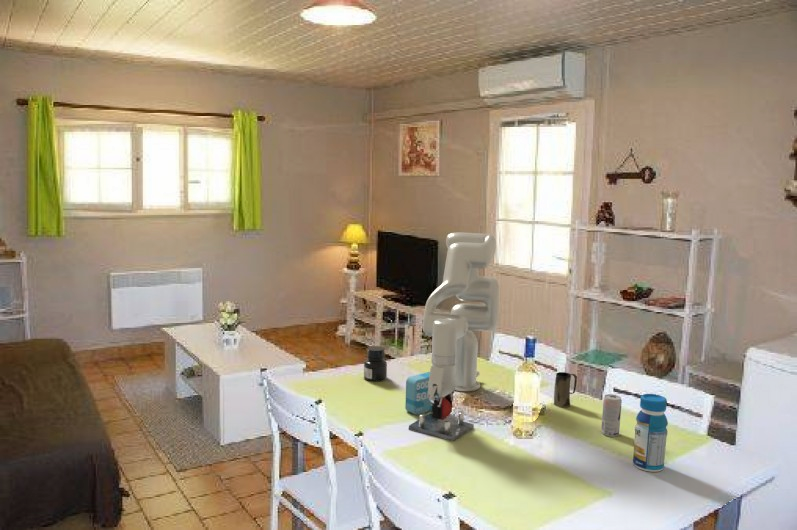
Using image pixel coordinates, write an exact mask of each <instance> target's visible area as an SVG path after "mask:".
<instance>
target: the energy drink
mask: <svg viewBox="0 0 797 530" xmlns="http://www.w3.org/2000/svg"><path fill="white" fill-rule="evenodd" d="M622 401H623V400H622V396H619V395H616V394H612V393H610V394H605V395H604V397H603V401H602V416H601V428H600V431H601V434H602V435H603V436H606V437H610V438H616V437H618V436H619V435H620V428H621V426H620V425H621V415H622V413H621V412H622V403H623V402H622Z"/></svg>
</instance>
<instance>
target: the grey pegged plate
mask: <svg viewBox="0 0 797 530" xmlns="http://www.w3.org/2000/svg"><path fill="white" fill-rule="evenodd" d="M464 415H465V414H464V412H462V411H460V412H458V418H457V419H455V418H450V417H446V418H445V419H444V420H441V419H436V418H433V417H432V412H431V413H430V412H429V413H428V414H426V415H425V414H424V413H421V414H419V419H417V420H416V421H414V422H413V423H411V424H409V425H408V430H410V431H414V432H418V433H421V434H425V435H429V436H432V437H436V438H439V439H444V440H448V441H451V442H455V441H457V440H458V439H460V438H461V437H463V436H464V435H465V434H467V433H468V432H470V431H471V430H472V429H473V428H474V426H475V425H474V424H475V423H474V424H473V423H471V422H465V421H464V420H465V418H464Z"/></svg>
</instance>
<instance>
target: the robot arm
mask: <svg viewBox="0 0 797 530" xmlns="http://www.w3.org/2000/svg"><path fill="white" fill-rule="evenodd" d="M445 238H446V239H445V245H446V247H447V251H446V257H445V258H446V259H445V265H444V271H443V278H442V283H441V284H440V285H439V286H438V287H437V288H435V289H434V291H432V293H431V294H430V295H429V297H428V298H427V300H426V303H425V306H424V311H423V316H422V325H421V326H422V330H423V333H424V334H425V335H426V336H429V337H431V338H432V339H431V340H432V341H431V365H430V371H429V372H430V375H429V384H428V395H429V400H430V401H431V405H432V410H431V414H432V417H433V418H436V419H441V418H442V407H441V402H442V398H443V397H445V399H447V400H448V401H449V402H450V404H451V407H452V408H453V399H454V393H455V391H457V392H475V391H477V390H479V389H480V388H481V383H480V382H479V381H477V377H479V376H480V371H478V351H479V350H478V349H479V348H478V346H479V343H478V339H477V336H476V335H475V333H474V332H473V331H481V332H493V331H495V330H496V329H497V328H498V325H499V314H500V313H499V311H500V310H499V309H500V308H499V307H500V286H499V282H498V280H497V279H496V278H495V277H491V276H483V275H480V274H479V271H480V270H479V269H481V270H482V269H483V270H484V269H488V268H489V267H490V265H491V262H492V260H493V258H494V256H495V252H496V248H497V241H496V238H495V236H494V235H493V234H489V233H478V232H477V233H475V232H461V231H460V232H459V231H458V232H451V233H449V234H447V235H446V237H445ZM451 297H456V299H458V300H459V301H461V303H457V304H455V305H453V306H452V308H451V311H450V313H443V312H440V313H439V312H435V309H436V307H437V306H438V305H439V304H440V303H441V302H442V301H444V300H446V299H449V298H451ZM462 302H472V303H462ZM473 302H474V303H473ZM476 303H481V304H476ZM483 303H484V304H483ZM436 394H439V396H436ZM436 398H439V401H437V400H436ZM452 411H453V410H452ZM452 411H451V413H452Z"/></svg>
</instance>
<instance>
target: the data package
mask: <svg viewBox="0 0 797 530" xmlns="http://www.w3.org/2000/svg"><path fill="white" fill-rule="evenodd" d="M429 375H430V371H428V372H427V371H426V372H424V373H418V374H415V375H410V376H408V377H407V379H406V381H405V404H404V405H405V406H404V407H405V411H407V412H409V413H410V414H413V415H421V414H424V413H428V412H430V411H431V412H432V405H431V401H430V400H429V395H428V384H429ZM436 396H439V394H436ZM438 399H439V398H436V400H438Z"/></svg>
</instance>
